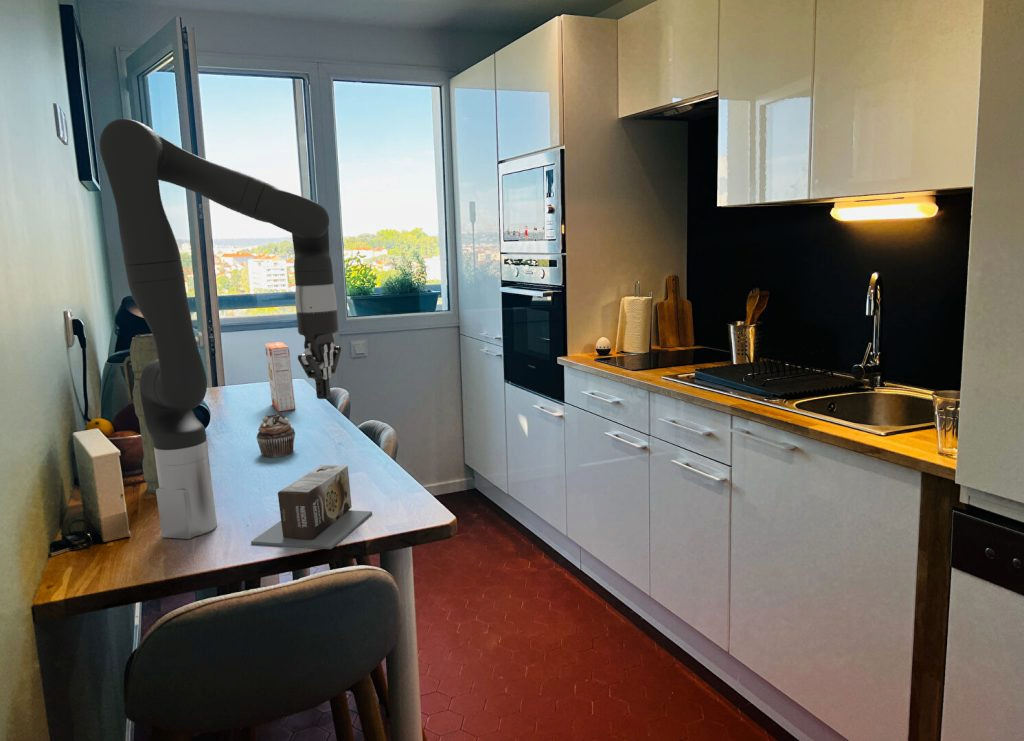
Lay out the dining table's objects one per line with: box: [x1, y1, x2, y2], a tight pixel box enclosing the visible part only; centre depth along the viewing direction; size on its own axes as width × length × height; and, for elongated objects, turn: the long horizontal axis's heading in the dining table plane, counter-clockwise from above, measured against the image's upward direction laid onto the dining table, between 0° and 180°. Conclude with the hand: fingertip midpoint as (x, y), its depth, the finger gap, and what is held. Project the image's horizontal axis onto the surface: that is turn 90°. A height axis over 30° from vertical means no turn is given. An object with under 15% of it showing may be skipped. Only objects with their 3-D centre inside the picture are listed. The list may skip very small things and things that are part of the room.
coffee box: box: [277, 464, 352, 540], centre depth 144 cm, size 9×6×16 cm
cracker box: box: [264, 341, 296, 413], centre depth 248 cm, size 14×6×21 cm, turn 25°
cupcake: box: [256, 412, 296, 458], centre depth 196 cm, size 10×10×10 cm
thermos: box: [122, 332, 159, 494], centre depth 170 cm, size 9×12×35 cm
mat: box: [250, 509, 373, 550], centre depth 144 cm, size 17×16×1 cm
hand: (323, 398), depth 147 cm, fingers closed
